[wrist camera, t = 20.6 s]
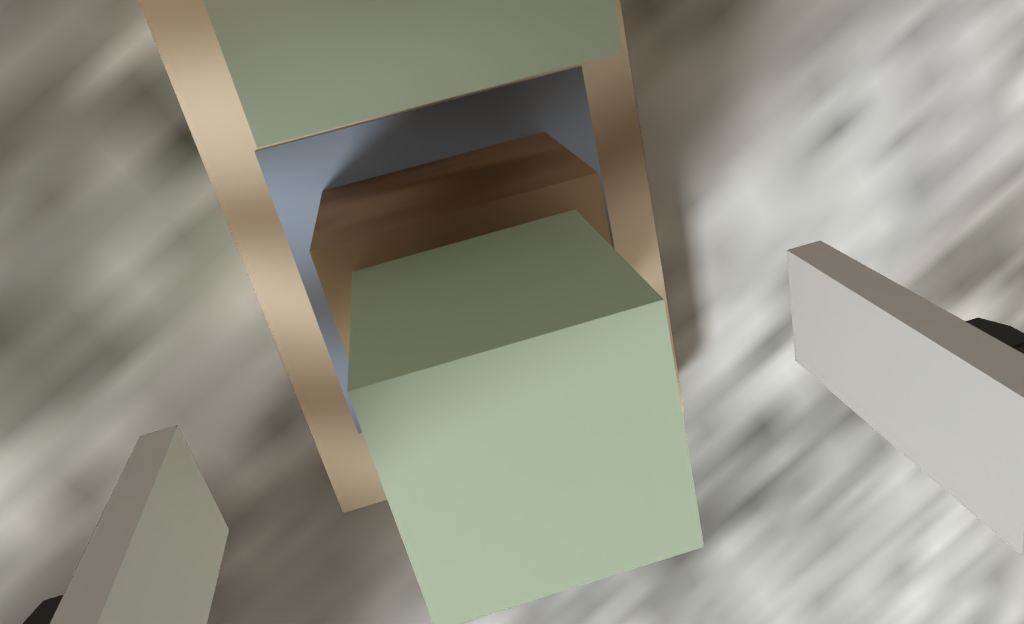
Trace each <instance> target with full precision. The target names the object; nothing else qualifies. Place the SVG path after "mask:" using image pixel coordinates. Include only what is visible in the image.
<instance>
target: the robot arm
mask: <svg viewBox="0 0 1024 624" xmlns="http://www.w3.org/2000/svg"><path fill="white" fill-rule="evenodd" d="M787 257H788V271H789V284H790V297H791V311H792V324H793V337H794V351H795V361H796V362H798V363H799V364H800V365H801V366H802V367H803V368H805V369H806V370H807V371H808V372H809V373H810V374H811V375H813V376H814V377H815V378H816V379H817V380H818V381H820V382H821V383H822V384H823V385H824V386H825V387H827V388H828V389H829V390H830V391H831V392H832V393H833V394H835V395H836V396H837V397H838V398H839V399H840V400H842V401H843V402H844V403H845V404H846V405H847V406H849V407H850V408H851V409H852V410H853V411H854V412H856V413H857V414H858V415H859V416H860V417H861V418H862V419H864V420H865V421H866V422H867V423H868V424H869V425H871V426H872V427H873V428H874V429H875V430H876V431H878V432H879V433H880V434H881V435H882V436H883V437H884V438H886V439H887V440H888V441H889V442H890V443H891V444H893V445H894V446H895V447H896V448H897V449H898V450H900V451H901V452H902V453H903V454H904V455H905V456H906V457H908V458H909V459H910V460H911V461H912V462H913V463H915V464H916V465H917V466H918V467H919V468H920V469H922V470H923V471H924V472H925V473H926V474H927V475H928V476H930V477H931V478H932V479H933V480H934V481H935V482H937V483H938V484H939V485H940V486H941V487H942V488H944V489H945V490H946V491H947V492H948V493H949V494H950V495H952V496H953V497H954V498H955V499H956V500H957V501H959V502H960V503H961V504H962V505H963V506H964V507H966V508H967V509H968V510H969V511H970V512H971V513H972V514H974V515H975V516H976V517H977V518H978V519H979V520H981V521H982V522H983V523H984V524H985V525H986V526H988V527H989V528H990V529H991V530H992V531H993V532H995V533H996V534H997V535H998V536H999V537H1000V538H1001V539H1003V540H1004V541H1005V542H1006V543H1007V544H1008V545H1010V546H1011V547H1012V548H1013V549H1014V550H1015V551H1017V552H1018V553H1019V554H1020V555H1021V556H1023V555H1024V333H1023V332H1021V331H1019V330H1017V329H1015V328H1013V327H1011V326H1008V325H1004V324H1000V323H997V322H993V321H989V320H985V319H981V318H975V319H972V320H969V321H964V320H962V319H960V318H958V317H956V316H955V315H953V314H951V313H949V312H947V311H946V310H944V309H942V308H940V307H938V306H937V305H935V304H933V303H931V302H929V301H928V300H926V299H924V298H922V297H920V296H919V295H917V294H915V293H913V292H912V291H910V290H908V289H906V288H904V287H903V286H901V285H899V284H897V283H895V282H894V281H892V280H890V279H888V278H886V277H885V276H883V275H881V274H879V273H877V272H876V271H874V270H872V269H870V268H868V267H867V266H865V265H863V264H861V263H860V262H858V261H856V260H854V259H852V258H851V257H849V256H847V255H845V254H843V253H842V252H840V251H838V250H836V249H834V248H833V247H831V246H829V245H827V244H825V243H824V242H822V241H817V242H814V243H810V244H807V245H803V246H800V247H796V248H793V249H789V250H787ZM228 532H229V529H228V527H227V525H226V523H225V521H224V519H223V517H222V515H221V512H220V510H219V508H218V506H217V504H216V502H215V500H214V498H213V496H212V494H211V492H210V490H209V488H208V486H207V484H206V482H205V480H204V478H203V476H202V474H201V472H200V470H199V468H198V466H197V463H196V461H195V459H194V457H193V455H192V453H191V451H190V449H189V447H188V445H187V443H186V441H185V439H184V437H183V435H182V433H181V431H180V429H179V427H178V425H177V426H174V427H170V428H167V429H163V430H160V431H156V432H153V433H149V434H146V435H142V436H140V437H139V439H138V441H137V443H136V445H135V447H134V449H133V452H132V454H131V456H130V458H129V460H128V462H127V464H126V466H125V468H124V470H123V472H122V474H121V477H120V479H119V481H118V483H117V485H116V487H115V489H114V491H113V493H112V495H111V497H110V499H109V502H108V504H107V506H106V508H105V510H104V512H103V514H102V516H101V518H100V520H99V522H98V524H97V526H96V529H95V531H94V533H93V535H92V537H91V539H90V541H89V543H88V545H87V547H86V549H85V551H84V554H83V556H82V558H81V560H80V562H79V564H78V566H77V568H76V570H75V572H74V574H73V576H72V579H71V581H70V583H69V585H68V587H67V589H66V591H65V593H64V595H61V596H58V597H54V598H51V599H48V600H44V601H43V602H42V603H41V604H40V605H39V606H38V607H37V608H36V609H35V611H34V612H33V613H32V614H31V615H30V616H29V617H28V618H27V619H26V620H25V622H24V623H23V624H207V622H208V617H209V613H210V609H211V605H212V600H213V596H214V592H215V588H216V583H217V579H218V575H219V571H220V566H221V562H222V558H223V554H224V549H225V545H226V541H227V537H228Z"/></svg>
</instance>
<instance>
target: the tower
mask: <svg viewBox="0 0 1024 624" xmlns="http://www.w3.org/2000/svg"><path fill="white" fill-rule="evenodd" d="M203 1H204V4H205V7H206V9H207V12H208V15H209V18H210V20H211V23H212V26H213V28H214V31H215V34H216V37H217V39H218V42H219V45H220V48H221V50H222V53H223V56H224V58H225V61H226V64H227V67H228V69H229V72H230V75H231V78H232V80H233V83H234V86H235V88H236V91H237V94H238V97H239V99H240V102H241V105H242V108H243V110H244V113H245V116H246V119H247V121H248V124H249V127H250V129H251V132H252V135H253V138H254V140H255V143H256V146H257V148H260V147H264V146H267V145H271V144H275V143H279V142H283V141H286V140H290V139H294V138H298V137H302V136H306V135H309V134H313V133H317V132H321V131H325V130H328V129H332V128H336V127H340V126H344V125H348V124H351V123H355V122H359V121H363V120H367V119H370V118H374V117H378V116H382V115H386V114H390V113H393V112H397V111H401V110H405V109H409V108H412V107H416V106H420V105H424V104H428V103H432V102H435V101H439V100H443V99H447V98H451V97H455V96H458V95H462V94H466V93H470V92H474V91H477V90H481V89H485V88H489V87H493V86H497V85H500V84H504V83H508V82H512V81H516V80H519V79H523V78H527V77H531V76H535V75H539V74H542V73H546V72H550V71H554V70H558V69H561V68H565V67H569V66H573V65H577V64H581V63H584V62H588V61H592V60H596V59H600V58H603V57H607V56H611V55H615V54H619V53H622V47H621V40H620V34H619V28H618V22H617V15H616V9H615V3H614V0H203Z"/></svg>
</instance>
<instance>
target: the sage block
mask: <svg viewBox="0 0 1024 624" xmlns="http://www.w3.org/2000/svg"><path fill="white" fill-rule="evenodd" d="M347 392H348V395H349V398H350V400H351V403H352V406H353V409H354V411H355V414H356V417H357V419H358V422H359V425H360V427H361V430H362V433H363V435H364V438H365V441H366V444H367V446H368V449H369V452H370V454H371V457H372V460H373V462H374V465H375V468H376V471H377V473H378V476H379V479H380V481H381V484H382V487H383V489H384V492H385V495H386V498H387V500H388V503H389V506H390V508H391V511H392V514H393V516H394V519H395V522H396V525H397V527H398V530H399V533H400V535H401V538H402V541H403V543H404V546H405V549H406V552H407V554H408V557H409V560H410V562H411V565H412V568H413V570H414V573H415V576H416V579H417V581H418V584H419V587H420V589H421V592H422V595H423V597H424V600H425V603H426V606H427V608H428V611H429V614H430V616H431V619H432V622H433V624H461V623H464V622H468V621H471V620H474V619H477V618H480V617H483V616H487V615H490V614H493V613H496V612H499V611H502V610H506V609H509V608H512V607H515V606H518V605H521V604H525V603H528V602H531V601H534V600H537V599H540V598H544V597H547V596H550V595H553V594H556V593H559V592H563V591H566V590H569V589H572V588H575V587H578V586H581V585H585V584H588V583H591V582H594V581H597V580H600V579H604V578H607V577H610V576H613V575H616V574H619V573H623V572H626V571H629V570H632V569H635V568H638V567H642V566H645V565H648V564H651V563H654V562H657V561H661V560H664V559H667V558H670V557H673V556H676V555H680V554H683V553H686V552H689V551H692V550H695V549H699V548H702V547H704V544H703V538H702V532H701V525H700V519H699V513H698V507H697V501H696V494H695V488H694V482H693V476H692V470H691V464H690V457H689V451H688V445H687V439H686V433H685V426H684V420H683V414H682V408H681V402H680V395H679V389H678V383H677V377H676V371H675V365H674V358H673V352H672V346H671V340H670V334H669V327H668V321H667V315H666V309H665V303H664V299H663V298H662V297H661V296H660V295H659V294H658V293H657V292H656V291H655V290H654V289H653V288H652V287H651V286H650V285H649V284H648V283H647V282H646V281H645V280H644V279H643V278H642V277H641V276H640V275H639V274H638V273H637V272H636V271H635V269H634V268H633V267H632V266H631V265H630V264H629V263H628V262H627V261H626V260H625V259H624V258H623V257H622V256H621V255H620V254H619V253H618V252H617V251H616V250H615V249H614V248H613V247H612V246H611V245H610V244H609V243H608V242H607V241H606V240H605V239H604V238H603V237H602V236H601V235H600V234H599V233H598V232H597V231H596V230H595V229H594V228H593V227H592V226H591V225H590V224H589V223H588V222H587V221H586V220H585V219H584V218H583V217H582V216H581V214H580V213H579V212H578V211H577V210H576V209H575V210H571V211H567V212H564V213H560V214H557V215H553V216H550V217H546V218H542V219H539V220H535V221H532V222H528V223H525V224H521V225H517V226H514V227H510V228H507V229H503V230H500V231H496V232H492V233H489V234H485V235H482V236H478V237H474V238H471V239H467V240H464V241H460V242H457V243H453V244H449V245H446V246H442V247H439V248H435V249H432V250H428V251H424V252H421V253H417V254H414V255H410V256H407V257H403V258H399V259H396V260H392V261H389V262H385V263H382V264H378V265H374V266H371V267H367V268H364V269H360V270H356V271H353V272H352V292H351V315H350V339H349V362H348V386H347Z"/></svg>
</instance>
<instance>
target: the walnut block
mask: <svg viewBox="0 0 1024 624" xmlns="http://www.w3.org/2000/svg"><path fill="white" fill-rule="evenodd" d="M575 209H576V210H577V211H578V212H579V213H580V214H581V216H582V217H583V218H584V219H585V220H586V221H587V222H588V223H589V224H590V225H591V226H592V227H593V228H594V229H595V230H596V231H597V232H598V233H599V234H600V235H601V236H602V237H603V238H604V239H605V240H606V241H607V242H608V243H609V244H610V245H611V246H612V243H611V238H610V232H609V227H608V221H607V216H606V210H605V205H604V199H603V194H602V188H601V183H600V177H599V173H598V172H597V171H596V170H595V169H593V168H592V167H591V166H589V165H588V164H587V163H585V162H584V161H583V160H581V159H580V158H579V157H577V156H576V155H575V154H573V153H572V152H571V151H570V150H568V149H567V148H566V147H564V146H563V145H562V144H560V143H559V142H558V141H556V140H555V139H554V138H552V137H551V136H550V135H549V134H547V133H546V132H541V133H537V134H533V135H530V136H526V137H522V138H518V139H515V140H511V141H507V142H503V143H500V144H496V145H492V146H488V147H485V148H481V149H477V150H474V151H470V152H466V153H462V154H459V155H455V156H451V157H447V158H444V159H440V160H436V161H432V162H429V163H425V164H421V165H417V166H414V167H410V168H406V169H402V170H399V171H395V172H391V173H388V174H384V175H380V176H376V177H373V178H369V179H365V180H361V181H358V182H354V183H350V184H346V185H343V186H339V187H335V188H331V189H328V190H324V191H322V195H321V200H320V204H319V209H318V214H317V218H316V223H315V228H314V232H313V237H312V242H311V247H310V251H309V252H310V254H311V257H312V260H313V263H314V266H315V268H316V271H317V274H318V277H319V280H320V282H321V285H322V288H323V291H324V294H325V296H326V299H327V302H328V305H329V308H330V310H331V313H332V316H333V319H334V322H335V324H336V327H337V330H338V333H339V335H340V338H341V341H342V344H343V347H344V349H345V352H346V355H347V358H348V361H349V339H350V315H351V292H352V272H353V271H356V270H360V269H364V268H367V267H371V266H374V265H378V264H382V263H385V262H389V261H392V260H396V259H399V258H403V257H407V256H410V255H414V254H417V253H421V252H424V251H428V250H432V249H435V248H439V247H442V246H446V245H449V244H453V243H457V242H460V241H464V240H467V239H471V238H474V237H478V236H482V235H485V234H489V233H492V232H496V231H500V230H503V229H507V228H510V227H514V226H517V225H521V224H525V223H528V222H532V221H535V220H539V219H542V218H546V217H550V216H553V215H557V214H560V213H564V212H567V211H571V210H575Z"/></svg>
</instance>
